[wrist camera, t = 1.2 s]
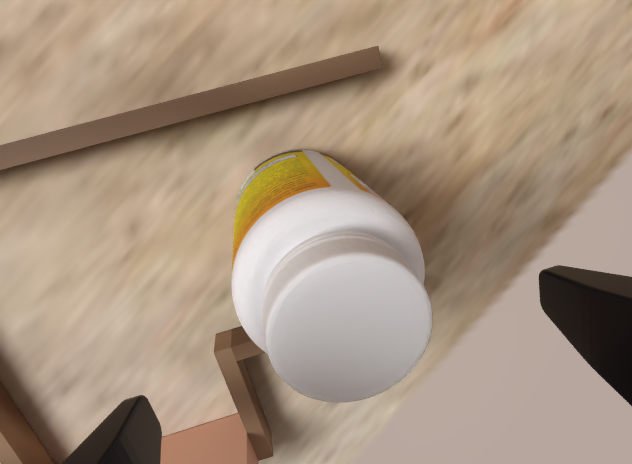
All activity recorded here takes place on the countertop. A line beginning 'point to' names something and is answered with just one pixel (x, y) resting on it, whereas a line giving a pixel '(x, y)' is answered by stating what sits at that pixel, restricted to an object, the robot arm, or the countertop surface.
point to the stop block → (210, 444)
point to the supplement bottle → (327, 278)
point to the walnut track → (230, 346)
